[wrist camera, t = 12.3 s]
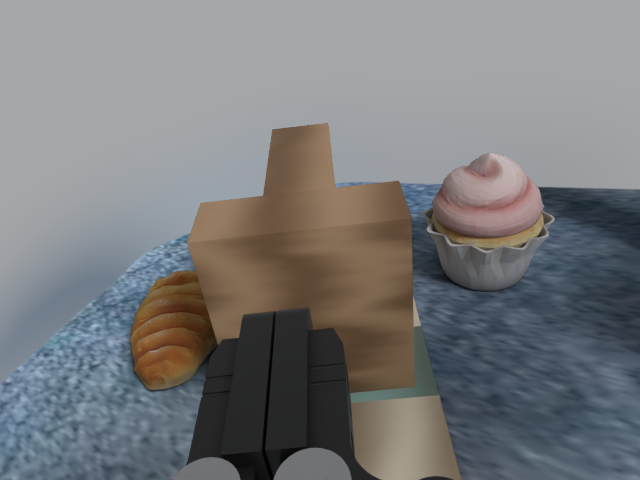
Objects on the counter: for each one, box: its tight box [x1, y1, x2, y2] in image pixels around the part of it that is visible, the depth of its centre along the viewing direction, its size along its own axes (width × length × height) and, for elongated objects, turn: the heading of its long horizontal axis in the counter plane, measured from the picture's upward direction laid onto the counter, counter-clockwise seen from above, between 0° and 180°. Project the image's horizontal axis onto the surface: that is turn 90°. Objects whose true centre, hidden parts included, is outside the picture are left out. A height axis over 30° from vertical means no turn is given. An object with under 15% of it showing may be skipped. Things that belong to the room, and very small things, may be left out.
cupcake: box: [422, 153, 555, 291], centre depth 38 cm, size 9×9×10 cm
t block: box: [187, 123, 415, 393], centre depth 34 cm, size 11×14×12 cm
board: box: [350, 297, 461, 480], centre depth 32 cm, size 13×30×1 cm, turn 1°
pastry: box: [130, 271, 218, 390], centre depth 37 cm, size 9×7×4 cm
